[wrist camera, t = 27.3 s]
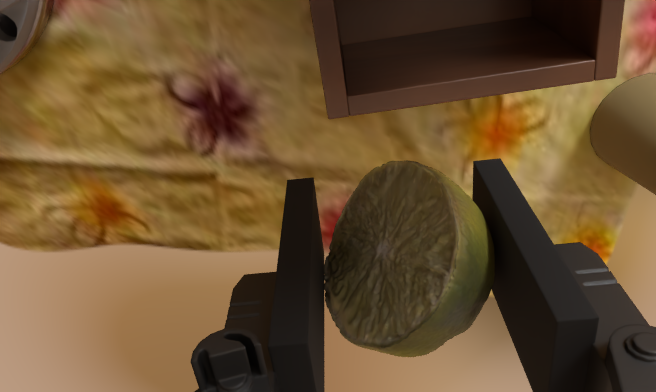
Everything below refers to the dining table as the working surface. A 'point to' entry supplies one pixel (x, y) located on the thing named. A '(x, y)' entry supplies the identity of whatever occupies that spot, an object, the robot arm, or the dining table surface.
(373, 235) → the lime
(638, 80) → the tan rounded upright piece
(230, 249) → the dining table surface
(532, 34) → the box
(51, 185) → the dining table surface
